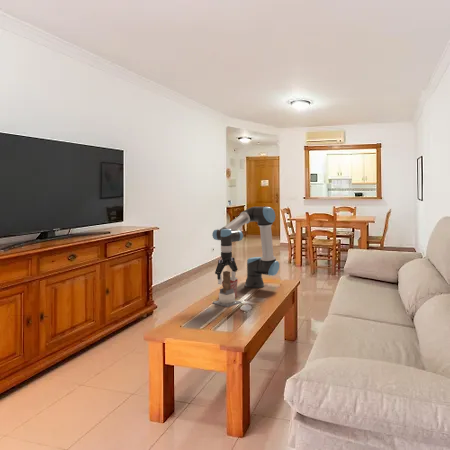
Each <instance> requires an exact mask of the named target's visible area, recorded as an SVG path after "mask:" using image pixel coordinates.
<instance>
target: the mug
mask: <svg viewBox="0 0 450 450" xmlns="http://www.w3.org/2000/svg"><path fill="white" fill-rule="evenodd" d="M238 280H239V278H238V277H236V276H235V281H232V276H230V289H234V293H235V298H236V297H237V296H238V294H237V293H238ZM221 285H222V287H223V280H222V284H221Z"/></svg>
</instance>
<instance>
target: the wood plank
mask: <svg viewBox="0 0 450 450" xmlns="http://www.w3.org/2000/svg"><path fill="white" fill-rule="evenodd" d="M230 277H231V271H229V270H224V271H222V281H223V286H222V288H223V292H224V293H226V290H230Z"/></svg>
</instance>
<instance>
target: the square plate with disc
mask: <svg viewBox="0 0 450 450" xmlns="http://www.w3.org/2000/svg"><path fill="white" fill-rule="evenodd" d="M212 302H213V303H212V304H214V305H218V306H222V307H226V308H229V307H231V306H235V305H239V304H241V303H242V301H239V300H236V297H235V293H234V289H230V290H226V293H224V292H223V287H222V288H220V289H219V292H218V300H216V301H212Z"/></svg>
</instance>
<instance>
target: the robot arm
mask: <svg viewBox="0 0 450 450" xmlns="http://www.w3.org/2000/svg"><path fill="white" fill-rule="evenodd" d="M275 221H276V212H275V209H273V208H272V207H270V206H251V207H248V208H247V209H245V210H243V211H242V212H240V213H239V215H238V216H237V217H235V218H234V219H233V220H231V221H230V222H228V223H227V224H226V225H224V226H223V227H221V228H217V229H214V230H213V231H212V235H211V236H212V238H213V240H215V241H220V258H221V259H218V260H217V261H218V262H217V266H216V269H215V271H214V274H215V275H217V285H222V281H223V272H224V271H223V270H224V269H225V267H226V266H228V267H229V268H230V270H231V271H230V276H231V277H232V281H235V277H236V272H237V271H239V270H238V269H239V268H238V266H237V263H236V261H235V260H236V259H235V257H233V253H232V252H233V245H232V243H235V242H240V241H242V240H243V238H244V234H243V231H242V230H239V229H240V228H241V227H243V226H244V225H247V224H249V223H254V222H255V223H257V226H258V227H259V231H260V232H259V233H260V242H261V244H260V245H261V253H262V256H254V257H249V258H247V261H246V267H247V268H246V269H247V270H246V276H247V277H246V279H245V282H244V284H245V285H244V286H245V287H246V288H251V289H259V288H263V287H265V283H264V280H263V275H265V276H269V277H270V276H276V275H277V274H278V272H279V271H280V262H279V261H278V260H277V259H276V258H277V257H276V256H274V247H273V235H272V234H273V233H272V225H273V223H274V222H275Z"/></svg>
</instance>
